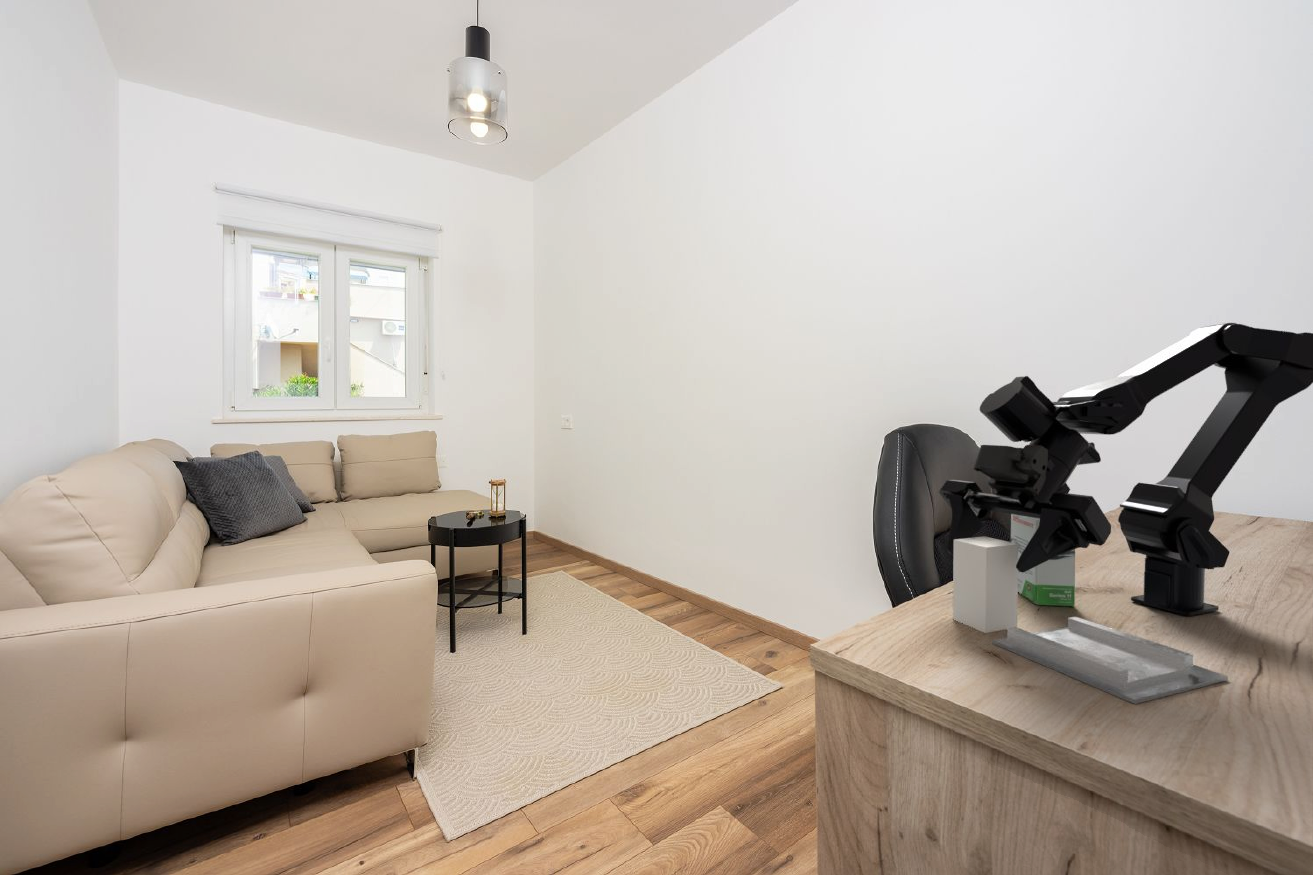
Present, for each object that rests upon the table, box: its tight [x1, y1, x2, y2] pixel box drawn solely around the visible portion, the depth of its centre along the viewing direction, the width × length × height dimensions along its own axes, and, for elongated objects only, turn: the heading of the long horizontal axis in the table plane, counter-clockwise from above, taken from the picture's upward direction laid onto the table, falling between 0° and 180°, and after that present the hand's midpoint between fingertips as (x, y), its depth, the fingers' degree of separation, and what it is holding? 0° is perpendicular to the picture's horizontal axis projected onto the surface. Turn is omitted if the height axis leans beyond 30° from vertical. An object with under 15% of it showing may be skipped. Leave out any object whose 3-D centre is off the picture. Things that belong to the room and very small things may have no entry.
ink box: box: [1010, 514, 1076, 607], centre depth 78 cm, size 9×5×12 cm, turn 168°
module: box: [952, 536, 1019, 634], centre depth 69 cm, size 5×5×10 cm
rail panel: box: [992, 616, 1229, 705], centre depth 58 cm, size 13×14×2 cm
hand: (981, 560), depth 69 cm, fingers open, 9 cm apart
